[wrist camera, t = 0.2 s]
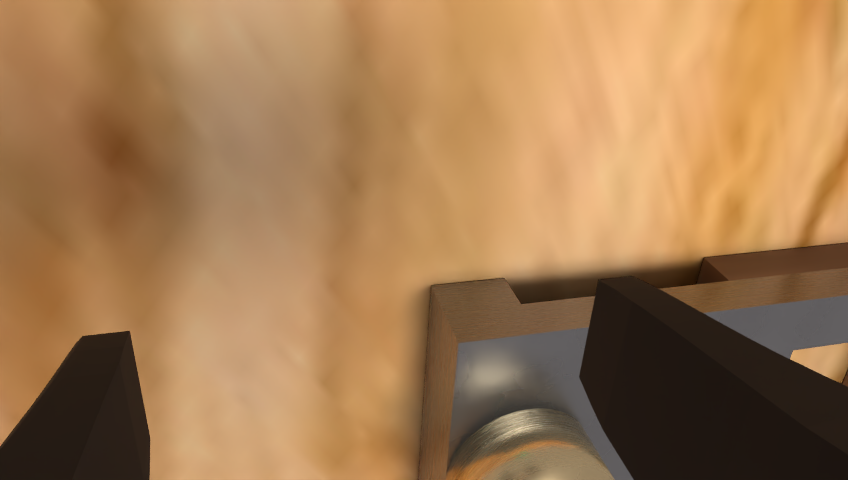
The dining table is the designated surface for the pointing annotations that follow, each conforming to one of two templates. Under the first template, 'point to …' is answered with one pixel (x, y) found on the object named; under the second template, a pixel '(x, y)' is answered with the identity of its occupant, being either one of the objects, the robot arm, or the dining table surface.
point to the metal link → (572, 370)
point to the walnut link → (774, 264)
